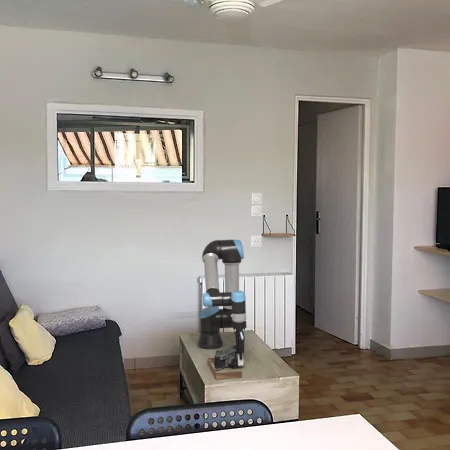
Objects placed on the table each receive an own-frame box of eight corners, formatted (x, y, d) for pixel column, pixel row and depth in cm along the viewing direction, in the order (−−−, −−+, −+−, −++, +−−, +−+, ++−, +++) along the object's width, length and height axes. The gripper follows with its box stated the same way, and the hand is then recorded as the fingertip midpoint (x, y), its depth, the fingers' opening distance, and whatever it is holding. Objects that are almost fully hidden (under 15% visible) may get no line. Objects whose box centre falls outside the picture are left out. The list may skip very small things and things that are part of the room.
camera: (224, 375, 268) (227, 357, 266) (211, 368, 273) (213, 350, 271) (245, 366, 281) (247, 349, 280) (231, 360, 287) (234, 343, 285)
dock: (207, 363, 284) (207, 356, 284) (231, 361, 287) (231, 354, 287) (216, 380, 259) (216, 372, 259) (242, 377, 262) (241, 370, 262)
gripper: (229, 318, 278) (231, 362, 279) (234, 324, 266) (236, 369, 267) (243, 317, 280) (244, 360, 281) (249, 322, 267) (250, 368, 268)
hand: (240, 365), depth 274 cm, fingers closed
